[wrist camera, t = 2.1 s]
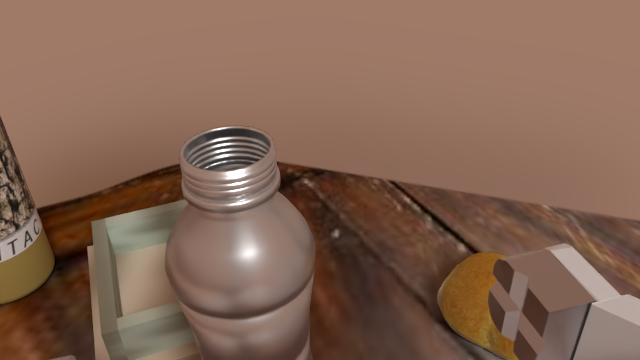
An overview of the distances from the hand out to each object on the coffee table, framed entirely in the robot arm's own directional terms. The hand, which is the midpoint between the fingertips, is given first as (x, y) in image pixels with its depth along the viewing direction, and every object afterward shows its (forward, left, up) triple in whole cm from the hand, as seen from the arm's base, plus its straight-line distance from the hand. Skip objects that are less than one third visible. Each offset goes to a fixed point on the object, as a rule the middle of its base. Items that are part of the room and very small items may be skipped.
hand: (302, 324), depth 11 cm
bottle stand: (+1, -26, -23) cm, 35 cm away
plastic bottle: (-1, -12, -23) cm, 26 cm away
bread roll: (-19, -15, -23) cm, 34 cm away
